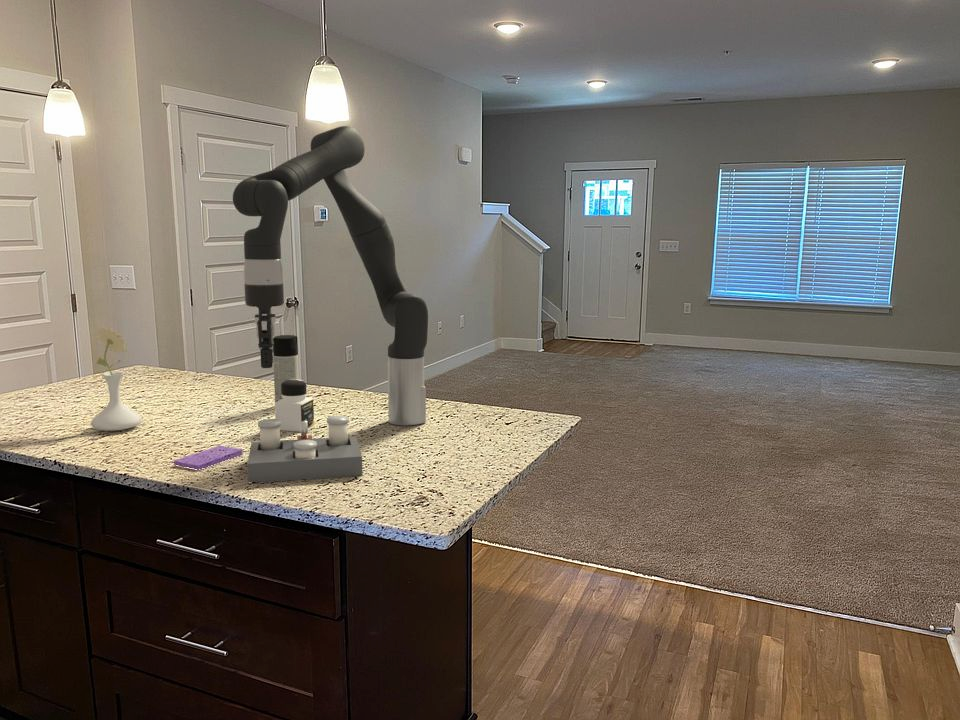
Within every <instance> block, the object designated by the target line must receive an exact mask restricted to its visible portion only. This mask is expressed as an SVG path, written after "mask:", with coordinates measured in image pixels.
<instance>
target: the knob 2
mask: <svg viewBox="0 0 960 720" xmlns="http://www.w3.org/2000/svg"><path fill="white" fill-rule="evenodd" d="M349 420H350V417H348V416H347V415H332V416H328V417H326V423H327V425H328V438H329V446H342V445H348V437H349V435H348V434H349V431H348V424H349V423H350V421H349Z"/></svg>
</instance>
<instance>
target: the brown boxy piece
mask: <svg viewBox="0 0 960 720" xmlns="http://www.w3.org/2000/svg"><path fill="white" fill-rule="evenodd" d="M312 439H313V435H312V434H310V435H309V428H308V421H301V432H300V435H297V437H296V440H297V441H300V440H312Z"/></svg>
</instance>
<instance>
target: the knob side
mask: <svg viewBox="0 0 960 720" xmlns="http://www.w3.org/2000/svg"><path fill="white" fill-rule="evenodd" d="M316 447H317V442H316V441H314V440H300V441H296V442H294V443H293V448H294V449H295V458H310V457H316V451H315V448H316Z"/></svg>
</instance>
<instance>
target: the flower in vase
mask: <svg viewBox="0 0 960 720" xmlns="http://www.w3.org/2000/svg"><path fill="white" fill-rule="evenodd" d="M95 333H96V335H97V339H98V340H99V341H100V342H101V344H102V345H104V348H105V350H104V355H103V358H101V357H98V360H97V362H96V364H98V365H101V366H104V367H107V369H108V371H107V372H103V373H102V374H101V376H102V377H103V379H104V380H105V381H106V384H107V387H108V391H109V402H108V404H107V405H106V407H104V408H103V409H102V410H100V412H99V413H97V415H95V416H94V417H93V418H92V420H91V422H90V426H91V427H92V428H93V429H96V430H100V431H103V432H104V431H107V432H108V431H109V432H113V431H114V432H115V431H122V430H128V429H131V428H134V427H136V426H138V425H140V424H141V422H142V421H143V418H142V416H141V415H140V414H139V413H138V412H136V411H135V410H133V409H132V408H130V407H128V406H127V405H125V404H124V403H123V402H122V400H121V394H120V393H121V392H120V386H121V380H122V379H123V376H124V375H125V372H123V371H112V370H111V368H112V367H113V366H115V365H117V364H119V363H120V362H121V359H119V360H118V361H117V362H114V363H113V364H112V365H110V366H109V364H108V362H107V360H106V359H107V358H106V357H107V352H108V350H109V351H113V352H114V353H118V354H121V353H124V352H126V351H127V349H126V346H127V344H126V343H125V339H123V338H122V337H123V336H122V334H120V333H118V332H117V331H115V330H113V328H111V327H109V328H107V327H106V326H101V328H98V329H97V330H96V331H95Z"/></svg>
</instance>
